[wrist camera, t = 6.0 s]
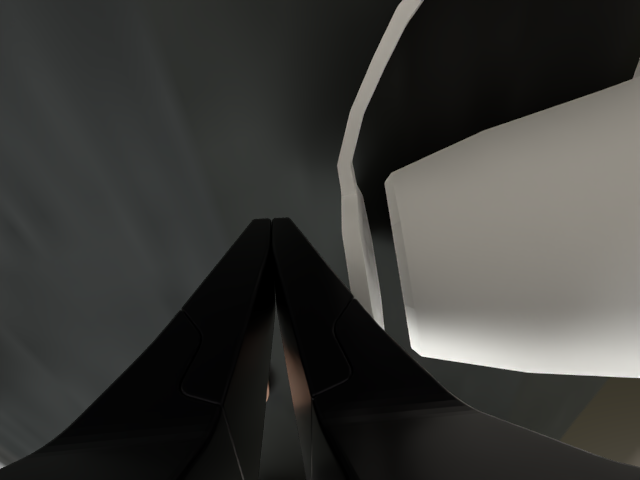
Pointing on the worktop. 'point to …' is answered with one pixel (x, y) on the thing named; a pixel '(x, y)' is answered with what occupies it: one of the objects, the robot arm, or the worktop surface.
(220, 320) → the robot arm
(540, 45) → the worktop surface
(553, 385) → the worktop surface
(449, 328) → the cup
